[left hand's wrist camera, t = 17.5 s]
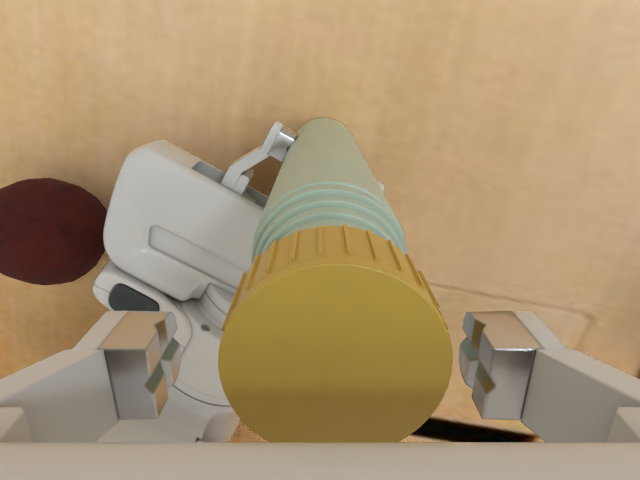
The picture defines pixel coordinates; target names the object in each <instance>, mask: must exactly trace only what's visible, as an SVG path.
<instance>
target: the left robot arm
mask: <svg viewBox="0 0 640 480" xmlns="http://www.w3.org/2000/svg"><path fill="white" fill-rule="evenodd" d="M176 330H177V322H176V316H175V315H174V313H173V312H161V311H108V312H105V313H104V314H103V315H102V317H101V318H100V319H99V320H98V321H97V322H96V323H95V324H94V325H93V327H92V328H91V329H90V330H89V331H88V332H87V333H86V334H85V335H84V336H83V338H82V339H81V340H80V341H79V342H78V343H77V344H76V345H75V346H74V348H73V349H65V350H62V351H60V352H58V353H56V354H54V355H52V356H49V357H47V358H45V359H43V360H41V361H38V362H36V363H34V364H32V365H30V366H28V367H25V368H23V369H21V370H19V371H17V372H15V373H12V374H10V375H8V376H6V377H4V378H1V379H0V480H640V379H638V378H636V377H634V376H632V375H630V374H628V373H625V372H623V371H621V370H619V369H617V368H614V367H612V366H610V365H608V364H606V363H604V362H601V361H599V360H597V359H595V358H593V357H591V356H588V355H586V354H584V353H582V352H580V351H578V350H575V349H567V348H566V346H565V345H564V344H563V343H562V342H561V341H560V340H559V339H558V338H557V336H556V335H555V334H554V333H553V332H552V331H551V330H550V329H549V328H548V327H547V325H546V324H545V323H544V322H543V321H542V320H541V319H540V318H539V317H538V315H537V314H536V313H535V312H533V311H530V310H528V311H494V312H467V313H466V315H465V317H464V321H463V330H464V332H465V334H466V335H467V337H466V339H465V340H464V341H463V342H462V343H461V344H460V351H459V363H460V370H461V374H462V377H463V380H464V382H465V384H466V385H468V386H469V387H471V388H472V389H473V392H472V399H473V401H474V403H475V405H476V407H477V410H478V412H479V414H480V416H481V418H482V419H498V420H521V422H522V423H523V424H524V425H526V426H527V427H528V428H529V429H530V430H532V431H533V432H534V433H535V434H536V435H538V436H539V437H540V438H541V439H543V440H544V441H545V442H95V441H96V440H98V439H99V438H100V437H101V436H102V435H104V434H105V433H106V432H107V431H109V430H110V429H111V428H112V427H113V426H115V425H116V424H117V423H118V422H119V420H141V419H158V418H159V416H160V414H161V412H162V410H163V408H164V405H165V403H166V401H167V399H168V392H167V389H168V388H169V387H171V386H172V385H174V384H175V382H176V379H177V377H178V375H179V370H180V365H181V350H180V344H179V343H178V342H177V341H176V340H175V339H174V337H173V335H174V334H175V332H176Z"/></svg>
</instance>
